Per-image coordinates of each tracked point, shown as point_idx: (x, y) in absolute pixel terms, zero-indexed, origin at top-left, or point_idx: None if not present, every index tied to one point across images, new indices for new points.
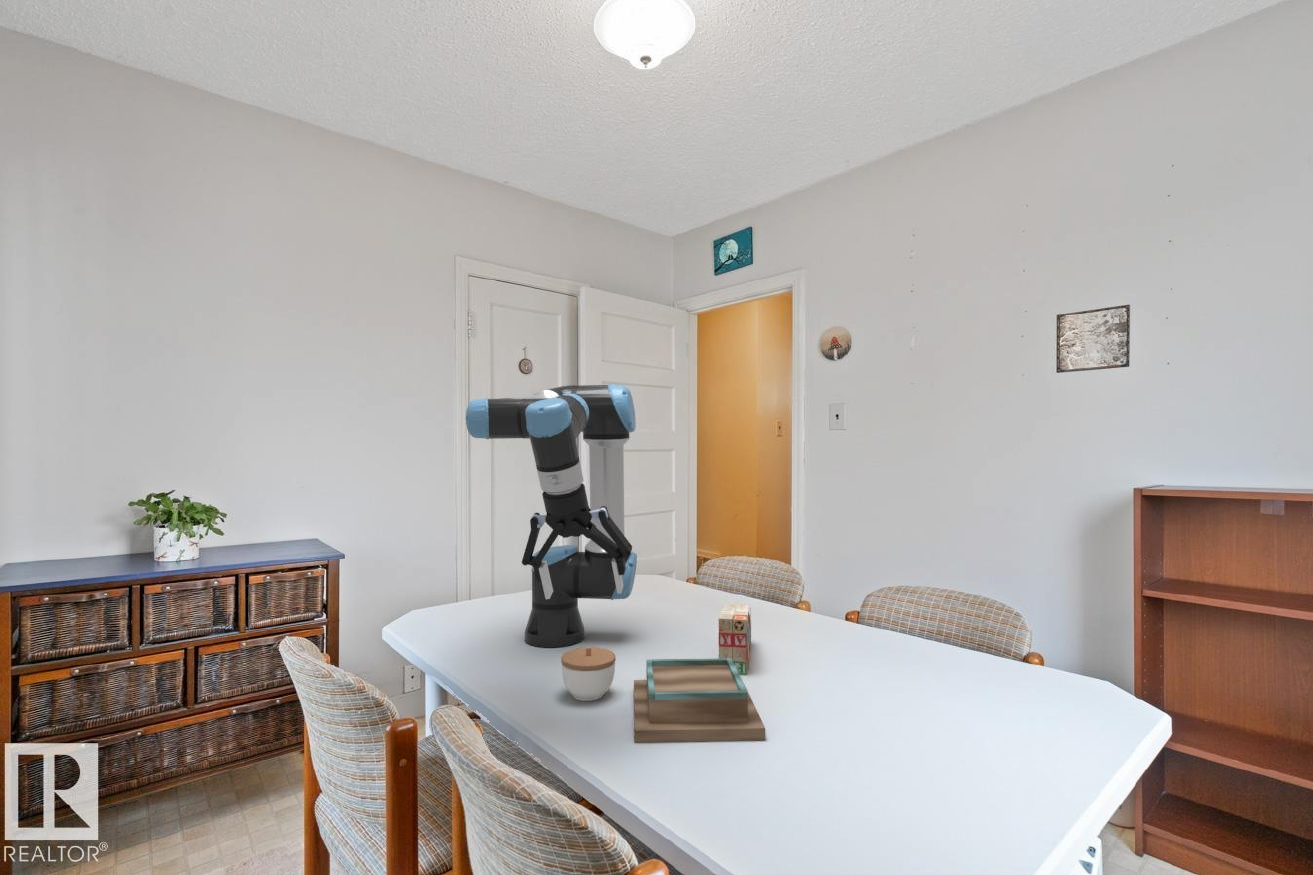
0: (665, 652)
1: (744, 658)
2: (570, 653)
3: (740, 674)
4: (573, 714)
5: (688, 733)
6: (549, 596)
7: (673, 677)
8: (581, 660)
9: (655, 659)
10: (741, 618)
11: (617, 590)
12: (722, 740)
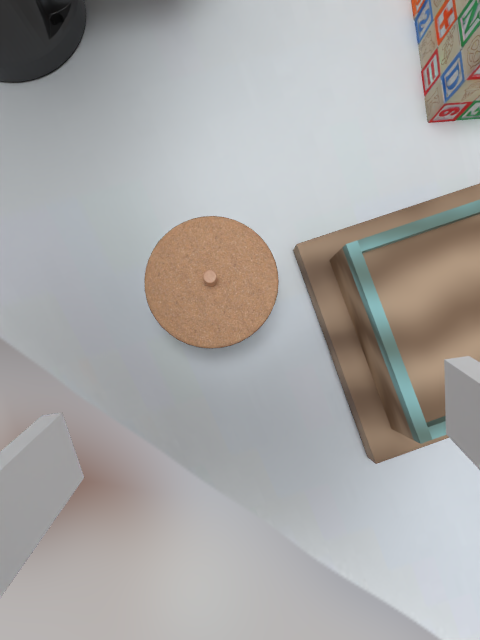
0: (291, 40)
1: None
2: (162, 281)
3: (471, 118)
4: (224, 385)
5: None
6: (77, 480)
7: (424, 306)
8: (209, 321)
9: (366, 237)
10: None
11: (461, 445)
12: None
